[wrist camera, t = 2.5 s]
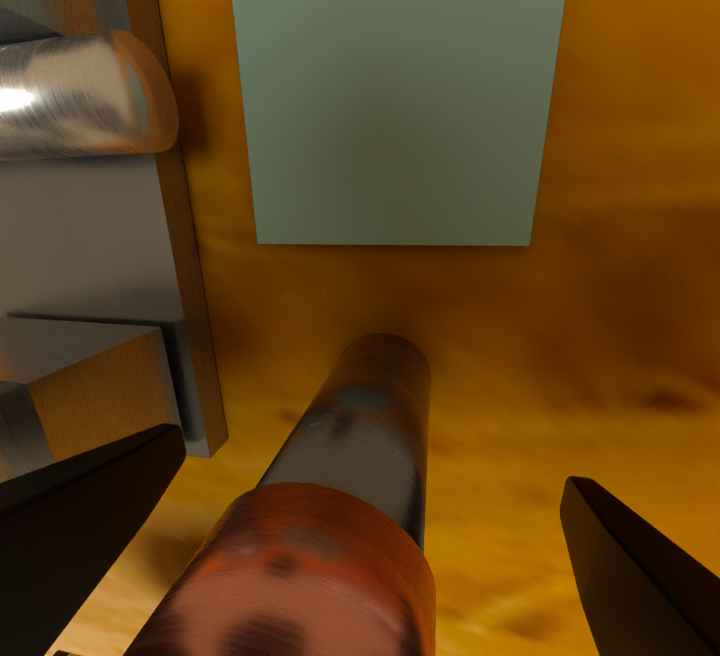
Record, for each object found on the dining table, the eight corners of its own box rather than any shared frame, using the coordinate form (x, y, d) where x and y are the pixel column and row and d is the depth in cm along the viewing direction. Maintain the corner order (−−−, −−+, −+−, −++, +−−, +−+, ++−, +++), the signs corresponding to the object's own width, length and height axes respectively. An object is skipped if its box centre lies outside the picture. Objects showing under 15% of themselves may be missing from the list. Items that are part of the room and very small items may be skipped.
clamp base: (249, 442, 14) (152, 562, 9) (38, 414, 16) (-129, 498, 11) (186, -23, 9) (-83, -274, 4) (-102, 26, 11) (-490, -108, 7)
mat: (263, 242, 11) (257, 244, 11) (231, -83, 9) (221, -96, 8) (525, 244, 10) (529, 245, 9) (581, -154, 7) (590, -174, 7)
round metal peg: (334, 416, 13) (146, 795, 4) (331, 324, 12) (68, 606, 3) (433, 427, 12) (426, 902, 4) (439, 330, 11) (447, 711, 3)
